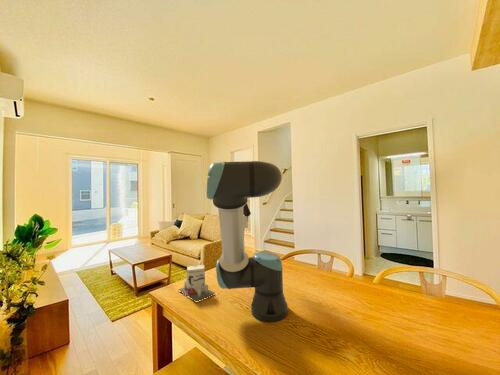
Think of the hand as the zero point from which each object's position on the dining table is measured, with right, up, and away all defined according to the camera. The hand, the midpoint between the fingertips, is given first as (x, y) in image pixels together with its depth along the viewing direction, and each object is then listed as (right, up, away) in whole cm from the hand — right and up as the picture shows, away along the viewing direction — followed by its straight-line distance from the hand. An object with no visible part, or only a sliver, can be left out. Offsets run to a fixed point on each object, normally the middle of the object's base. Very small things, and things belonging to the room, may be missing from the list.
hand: (236, 229), depth 117 cm
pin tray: (-19, -29, -11) cm, 37 cm away
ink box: (-19, -29, -11) cm, 36 cm away
